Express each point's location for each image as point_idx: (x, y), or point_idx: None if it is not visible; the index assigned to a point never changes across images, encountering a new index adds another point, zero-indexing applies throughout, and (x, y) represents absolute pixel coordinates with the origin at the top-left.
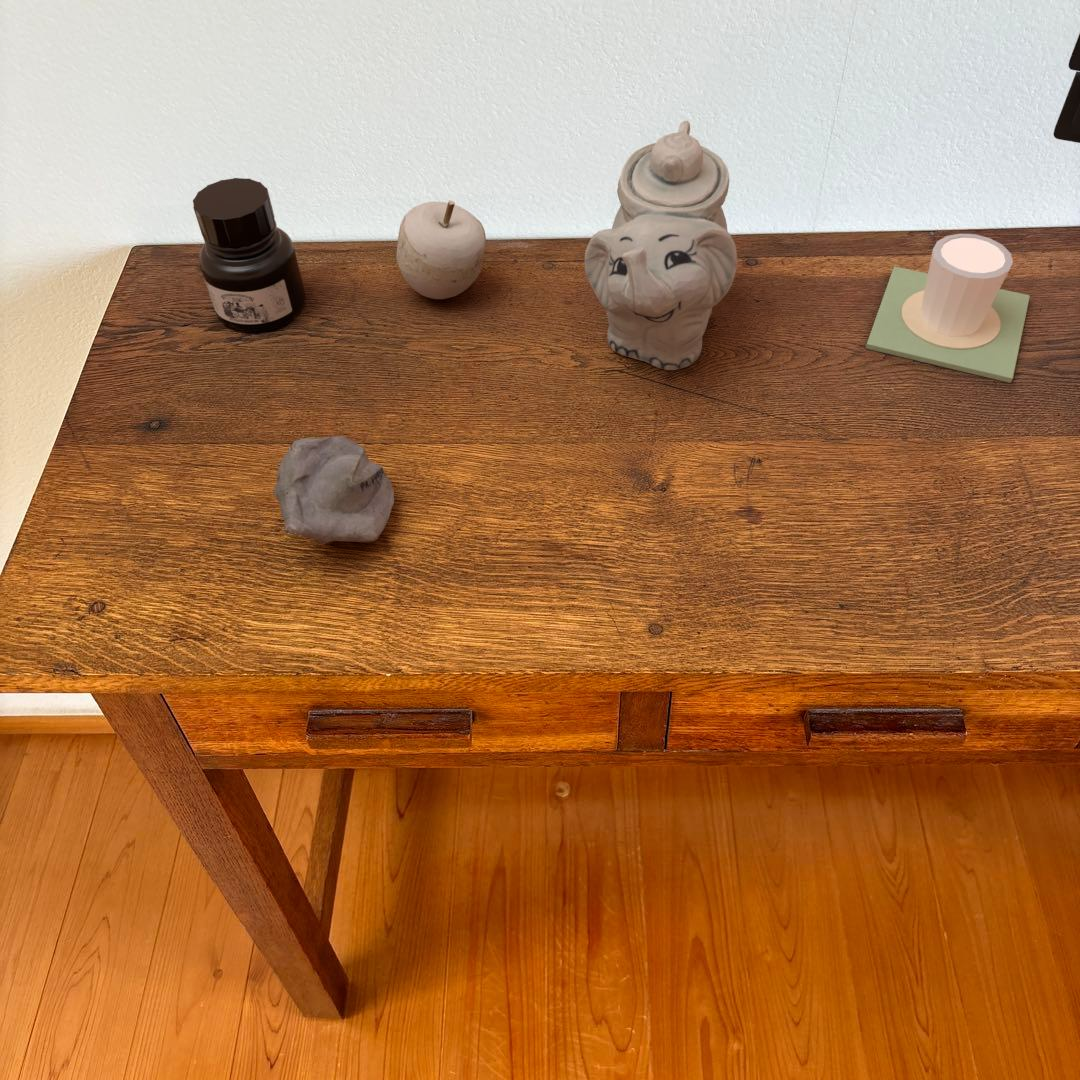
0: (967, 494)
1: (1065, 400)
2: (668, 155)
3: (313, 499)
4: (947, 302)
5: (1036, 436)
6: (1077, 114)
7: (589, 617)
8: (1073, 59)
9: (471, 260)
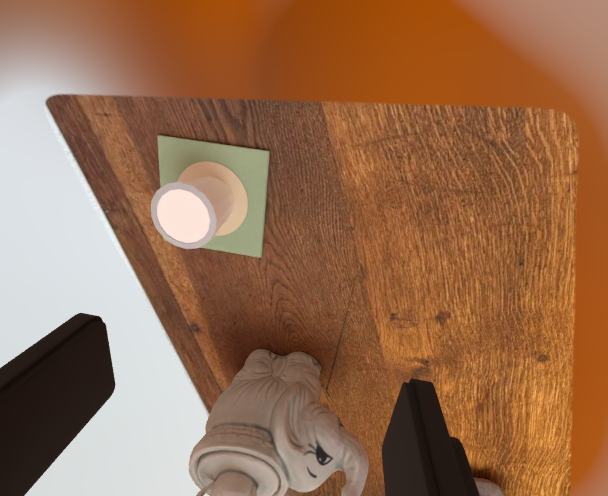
0: (403, 184)
1: (278, 105)
2: None
3: None
4: (224, 220)
5: (328, 131)
6: None
7: (534, 387)
8: (101, 404)
9: (287, 491)
